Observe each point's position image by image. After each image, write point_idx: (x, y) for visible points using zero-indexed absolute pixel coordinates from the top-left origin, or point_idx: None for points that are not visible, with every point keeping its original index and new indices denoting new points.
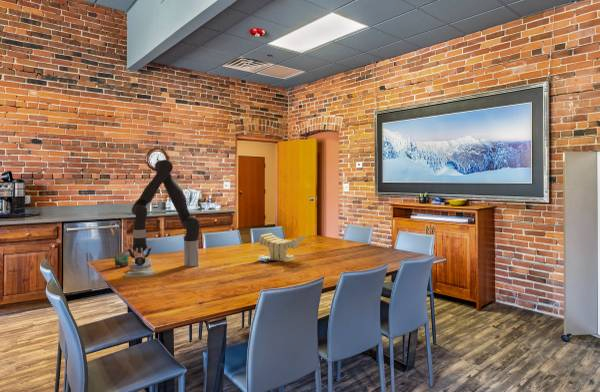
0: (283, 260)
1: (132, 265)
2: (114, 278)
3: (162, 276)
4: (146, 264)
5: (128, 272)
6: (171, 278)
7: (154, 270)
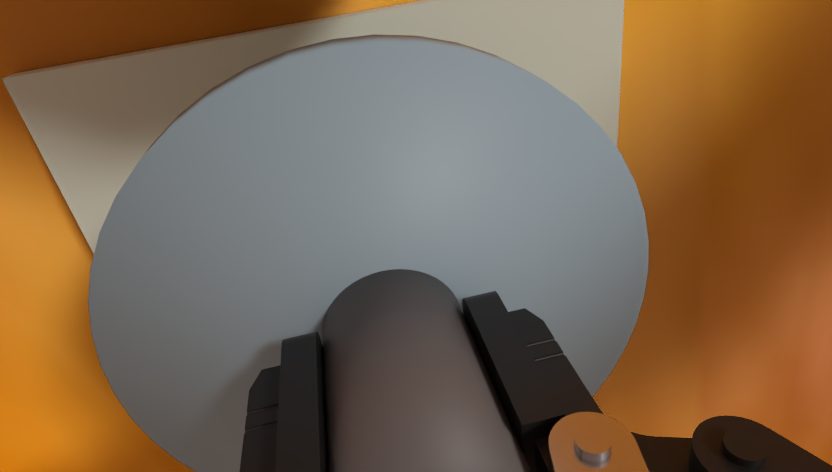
0: None
1: (199, 377)
2: (39, 452)
3: (729, 333)
4: (541, 268)
5: (66, 166)
6: (818, 401)
7: (609, 15)
